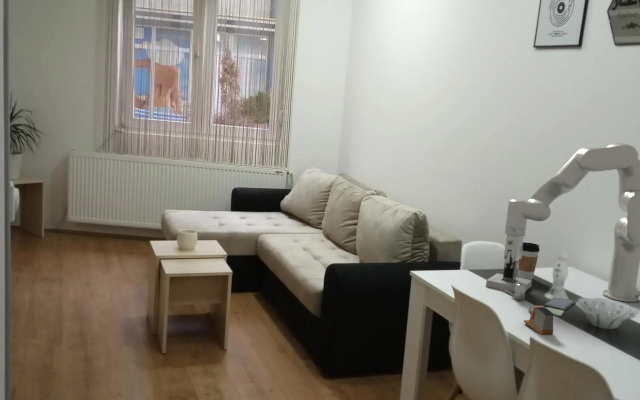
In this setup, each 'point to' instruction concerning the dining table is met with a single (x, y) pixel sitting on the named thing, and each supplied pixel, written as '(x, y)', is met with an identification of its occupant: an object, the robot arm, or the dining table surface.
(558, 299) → the phone
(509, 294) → the cable
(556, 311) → the pad
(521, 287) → the plug
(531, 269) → the coffee cup
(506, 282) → the plate
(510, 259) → the charger
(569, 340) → the dining table surface
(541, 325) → the electronic device
